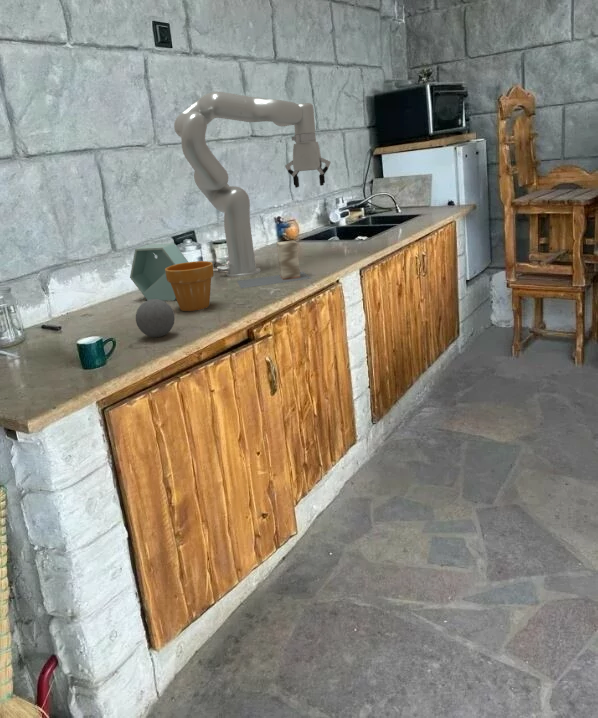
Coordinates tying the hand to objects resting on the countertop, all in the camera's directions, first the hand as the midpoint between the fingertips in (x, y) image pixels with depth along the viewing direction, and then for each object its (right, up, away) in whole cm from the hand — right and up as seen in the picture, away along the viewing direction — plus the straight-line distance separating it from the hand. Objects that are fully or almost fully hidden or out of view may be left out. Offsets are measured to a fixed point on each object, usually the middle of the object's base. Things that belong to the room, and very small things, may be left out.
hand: (309, 186), depth 259 cm
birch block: (-7, -37, -22) cm, 44 cm away
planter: (-48, -45, -31) cm, 73 cm away
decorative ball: (-41, -59, -77) cm, 106 cm away
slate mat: (-13, -38, -23) cm, 46 cm away
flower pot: (-36, -50, -49) cm, 79 cm away
